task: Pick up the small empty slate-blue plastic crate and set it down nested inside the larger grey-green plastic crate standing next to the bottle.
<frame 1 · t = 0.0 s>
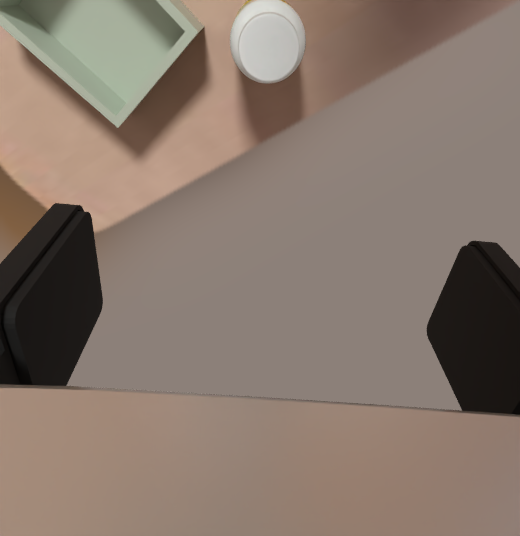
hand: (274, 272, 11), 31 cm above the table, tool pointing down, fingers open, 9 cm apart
large crate: (108, 15, 35), on the table
supplement bottle: (266, 32, 35), on the table
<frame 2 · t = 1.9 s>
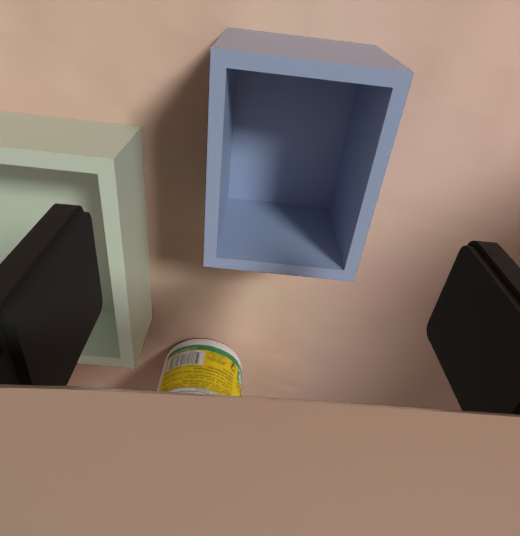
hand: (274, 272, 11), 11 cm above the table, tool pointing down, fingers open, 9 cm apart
large crate: (56, 224, 23), on the table
supplement bottle: (204, 362, 29), on the table
small crate: (288, 131, 20), on the table
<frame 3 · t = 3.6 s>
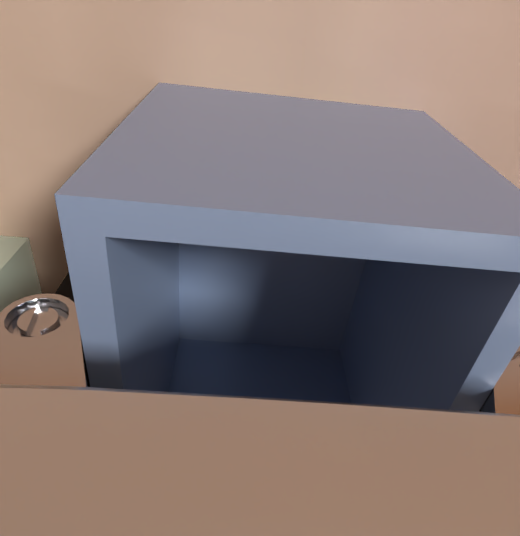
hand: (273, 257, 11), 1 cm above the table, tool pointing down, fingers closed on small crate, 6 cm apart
small crate: (273, 243, 12), on the table, touching gripper
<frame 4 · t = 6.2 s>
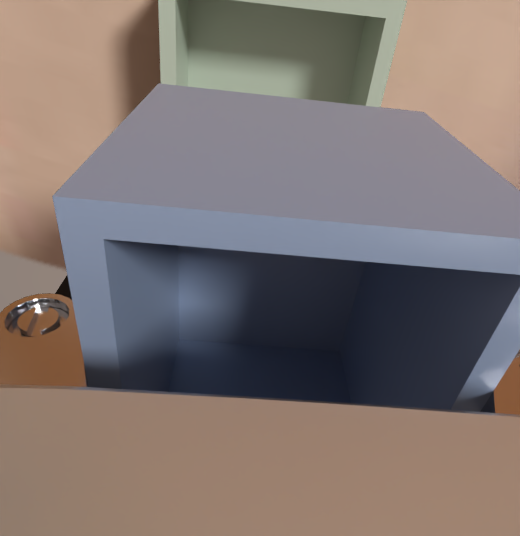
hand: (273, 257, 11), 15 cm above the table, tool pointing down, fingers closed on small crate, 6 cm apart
large crate: (266, 109, 24), on the table
small crate: (272, 244, 12), point 14 cm above the table, touching gripper
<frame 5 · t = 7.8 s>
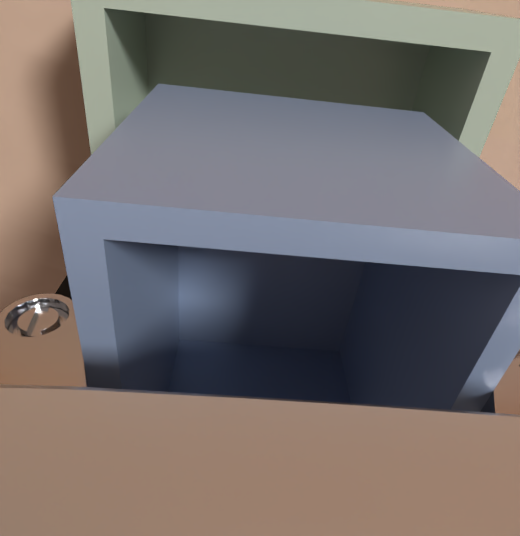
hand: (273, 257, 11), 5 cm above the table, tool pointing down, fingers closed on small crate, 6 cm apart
large crate: (271, 175, 16), on the table
small crate: (272, 245, 12), point 5 cm above the table, touching gripper
when the fingers open (5 cm above the table, at t = 8.9 s): small crate drops 4 cm, resting on large crate.
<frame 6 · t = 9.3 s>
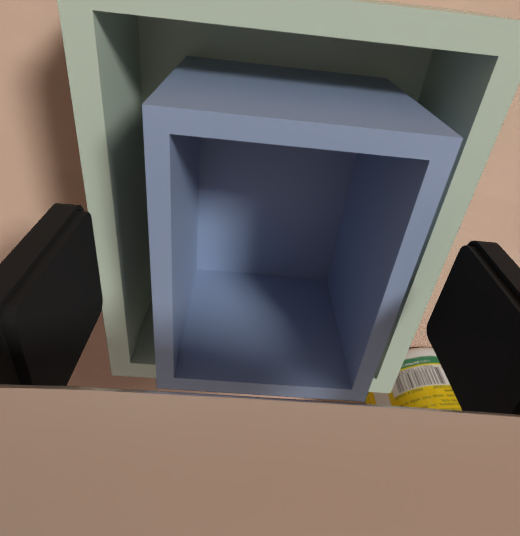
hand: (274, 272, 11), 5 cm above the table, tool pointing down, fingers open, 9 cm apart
large crate: (269, 181, 16), on the table, touching small crate
supplement bottle: (411, 378, 22), on the table
small crate: (272, 187, 15), resting on large crate
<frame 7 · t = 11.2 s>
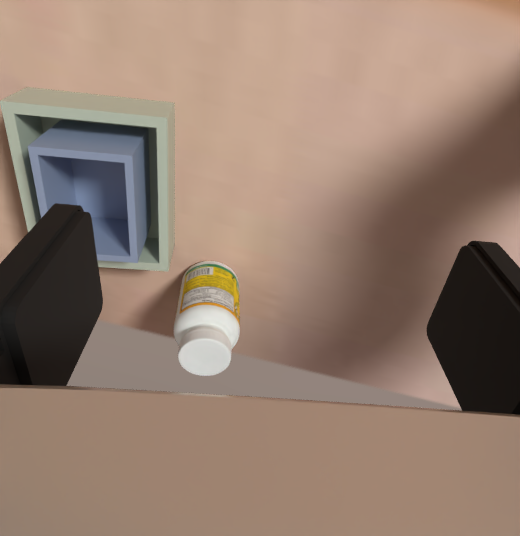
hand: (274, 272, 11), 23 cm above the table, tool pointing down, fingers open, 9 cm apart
large crate: (110, 173, 34), on the table, touching small crate
supplement bottle: (210, 281, 40), on the table
small crate: (109, 175, 33), resting on large crate
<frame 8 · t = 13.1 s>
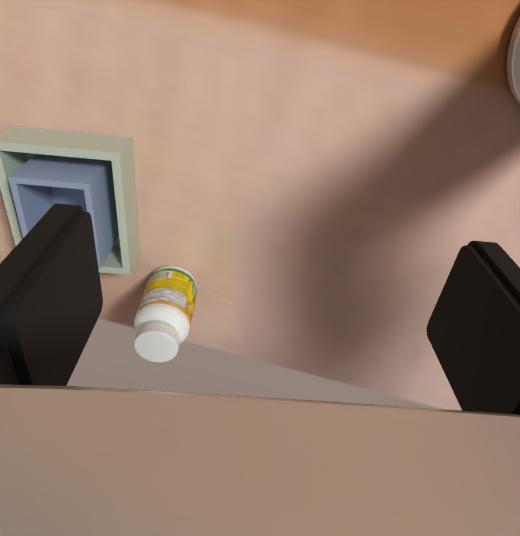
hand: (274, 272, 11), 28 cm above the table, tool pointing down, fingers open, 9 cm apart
large crate: (83, 192, 41), on the table, touching small crate
supplement bottle: (173, 283, 47), on the table
small crate: (82, 195, 40), resting on large crate
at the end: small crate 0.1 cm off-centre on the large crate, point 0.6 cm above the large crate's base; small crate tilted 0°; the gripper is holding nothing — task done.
